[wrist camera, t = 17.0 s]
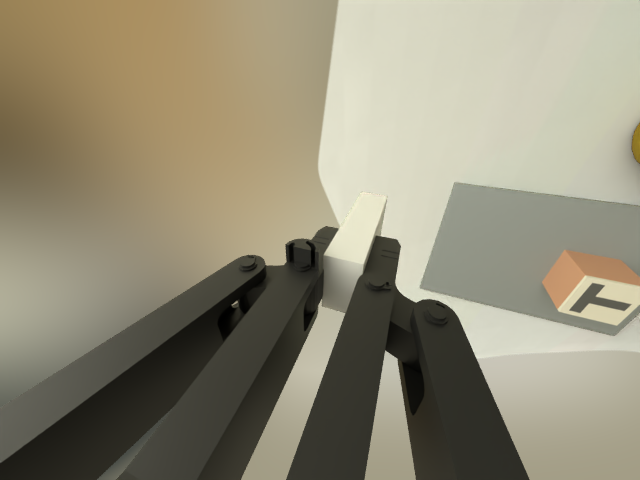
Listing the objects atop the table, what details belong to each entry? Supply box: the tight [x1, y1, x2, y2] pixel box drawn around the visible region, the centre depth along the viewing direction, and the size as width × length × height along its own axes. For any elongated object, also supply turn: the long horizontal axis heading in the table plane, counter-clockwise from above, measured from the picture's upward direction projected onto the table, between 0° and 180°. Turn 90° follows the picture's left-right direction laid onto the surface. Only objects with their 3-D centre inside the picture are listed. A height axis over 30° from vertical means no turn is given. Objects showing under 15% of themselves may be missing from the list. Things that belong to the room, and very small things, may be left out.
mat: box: [420, 183, 640, 336], centre depth 36 cm, size 20×28×1 cm
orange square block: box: [542, 250, 640, 326], centre depth 32 cm, size 6×6×6 cm
